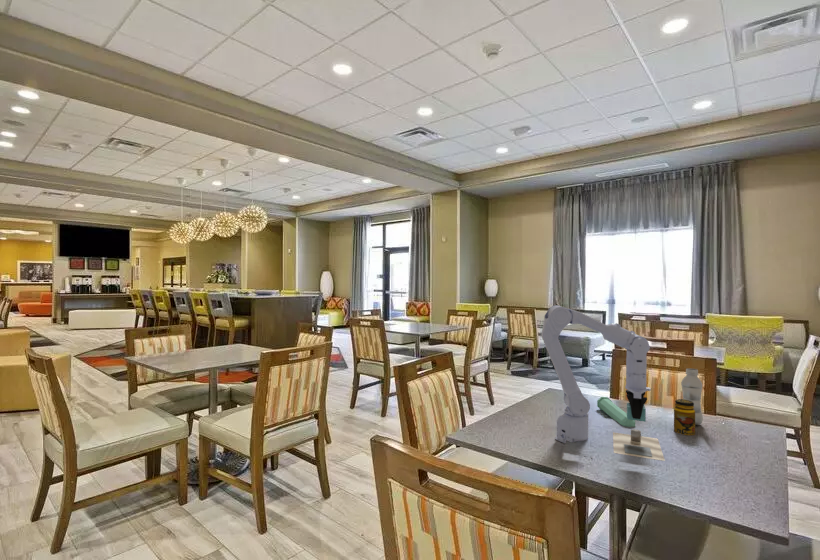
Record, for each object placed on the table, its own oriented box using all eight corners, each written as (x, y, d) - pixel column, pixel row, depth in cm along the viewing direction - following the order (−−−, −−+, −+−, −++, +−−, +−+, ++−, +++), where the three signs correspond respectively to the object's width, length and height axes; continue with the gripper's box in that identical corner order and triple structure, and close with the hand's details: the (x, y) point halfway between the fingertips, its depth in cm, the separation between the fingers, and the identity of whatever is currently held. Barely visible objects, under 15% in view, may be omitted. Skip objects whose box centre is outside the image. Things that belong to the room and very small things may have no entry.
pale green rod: (635, 414, 149) (608, 394, 174) (618, 420, 149) (594, 399, 174) (641, 430, 149) (614, 407, 173) (625, 436, 149) (599, 412, 174)
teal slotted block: (645, 421, 133) (645, 408, 133) (627, 419, 135) (627, 406, 135) (644, 417, 137) (644, 404, 137) (626, 414, 139) (626, 402, 139)
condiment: (685, 441, 140) (685, 404, 140) (663, 432, 148) (663, 397, 148) (702, 439, 142) (702, 402, 142) (679, 430, 150) (679, 396, 150)
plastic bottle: (707, 427, 154) (707, 371, 154) (687, 427, 154) (688, 371, 154) (695, 421, 160) (695, 367, 160) (677, 421, 160) (677, 367, 160)
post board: (664, 466, 120) (665, 450, 120) (613, 457, 126) (613, 442, 126) (657, 443, 138) (657, 429, 138) (612, 436, 143) (612, 423, 143)
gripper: (652, 378, 128) (652, 424, 128) (648, 369, 141) (648, 411, 141) (626, 376, 131) (625, 421, 131) (624, 367, 144) (624, 408, 144)
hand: (635, 415), depth 136 cm, fingers closed on teal slotted block, 5 cm apart
